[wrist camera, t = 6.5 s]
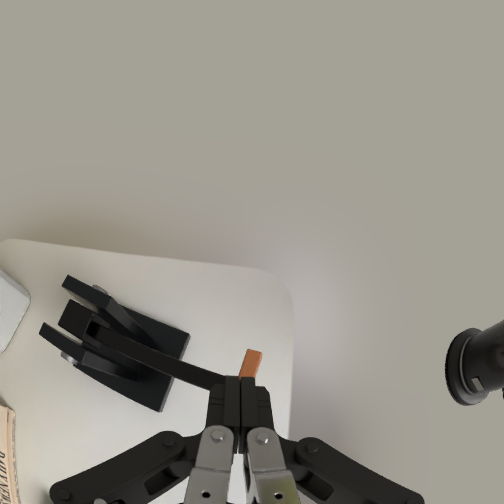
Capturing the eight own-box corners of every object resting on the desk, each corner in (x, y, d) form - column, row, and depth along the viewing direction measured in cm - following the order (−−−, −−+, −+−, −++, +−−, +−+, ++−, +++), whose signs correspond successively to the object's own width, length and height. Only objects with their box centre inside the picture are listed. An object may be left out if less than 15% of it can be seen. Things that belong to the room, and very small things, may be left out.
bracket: (191, 336, 27) (167, 287, 17) (161, 412, 23) (113, 417, 12) (107, 300, 28) (54, 239, 17) (77, 367, 24) (4, 335, 13)
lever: (262, 357, 16) (262, 349, 14) (238, 431, 13) (233, 434, 11) (93, 296, 19) (78, 282, 17) (68, 350, 16) (49, 341, 14)
